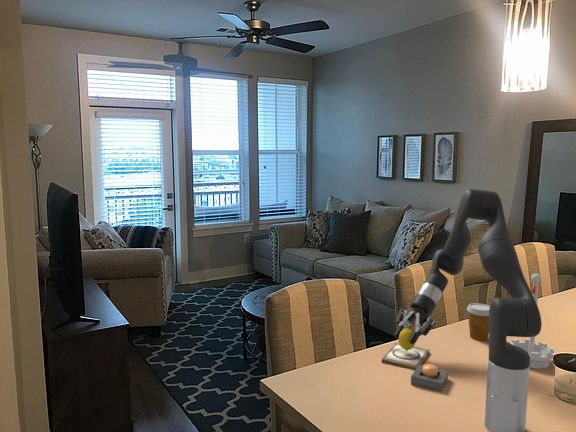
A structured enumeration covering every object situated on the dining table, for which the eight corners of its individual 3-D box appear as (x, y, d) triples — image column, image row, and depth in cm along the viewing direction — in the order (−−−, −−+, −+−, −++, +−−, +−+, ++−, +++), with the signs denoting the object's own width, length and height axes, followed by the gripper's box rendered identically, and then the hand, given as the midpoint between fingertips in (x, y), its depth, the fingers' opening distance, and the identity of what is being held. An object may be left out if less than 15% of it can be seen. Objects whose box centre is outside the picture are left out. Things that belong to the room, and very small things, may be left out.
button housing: (441, 391, 136) (442, 383, 136) (410, 384, 140) (411, 376, 140) (447, 378, 144) (448, 371, 144) (418, 372, 148) (418, 364, 148)
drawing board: (417, 370, 150) (418, 366, 150) (381, 362, 156) (381, 358, 155) (429, 352, 164) (429, 349, 163) (395, 345, 169) (395, 342, 169)
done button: (435, 379, 139) (436, 371, 139) (420, 376, 141) (421, 368, 141) (438, 373, 143) (439, 366, 142) (424, 370, 145) (424, 363, 145)
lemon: (396, 352, 158) (397, 329, 157) (400, 346, 163) (401, 324, 162) (412, 355, 156) (413, 332, 155) (416, 349, 161) (417, 326, 160)
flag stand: (514, 350, 166) (520, 267, 163) (556, 360, 158) (563, 273, 155) (504, 362, 156) (509, 274, 153) (548, 373, 148) (555, 280, 145)
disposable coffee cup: (498, 340, 175) (500, 309, 174) (478, 343, 172) (480, 311, 171) (479, 331, 184) (480, 301, 183) (459, 334, 181) (461, 304, 179)
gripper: (405, 288, 167) (382, 328, 161) (440, 298, 156) (416, 341, 150) (414, 300, 171) (391, 339, 165) (449, 310, 160) (426, 352, 154)
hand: (403, 340), depth 158 cm, fingers closed on lemon, 5 cm apart
